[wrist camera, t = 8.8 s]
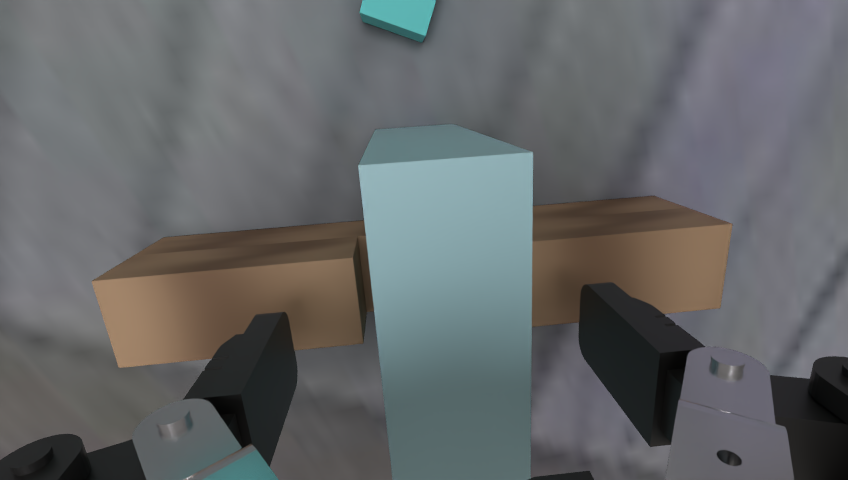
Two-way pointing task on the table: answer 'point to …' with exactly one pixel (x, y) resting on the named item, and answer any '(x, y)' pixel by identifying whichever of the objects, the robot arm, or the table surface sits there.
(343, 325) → the slotted rail
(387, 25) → the alien figure
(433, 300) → the notched plate
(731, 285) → the table surface
